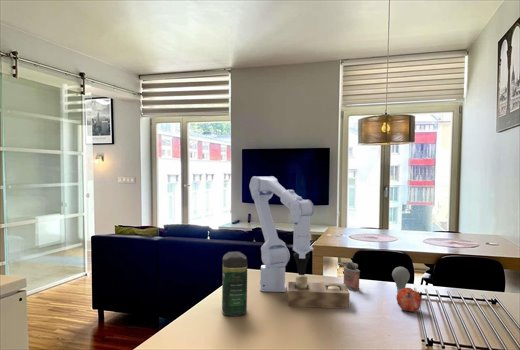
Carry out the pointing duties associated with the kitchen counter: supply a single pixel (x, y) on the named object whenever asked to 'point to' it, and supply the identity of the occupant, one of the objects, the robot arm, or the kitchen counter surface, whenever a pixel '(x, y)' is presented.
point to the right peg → (333, 288)
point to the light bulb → (400, 277)
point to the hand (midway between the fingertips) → (301, 274)
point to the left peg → (301, 282)
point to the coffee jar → (234, 284)
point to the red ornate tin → (351, 276)
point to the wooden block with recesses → (318, 295)
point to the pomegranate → (408, 299)
